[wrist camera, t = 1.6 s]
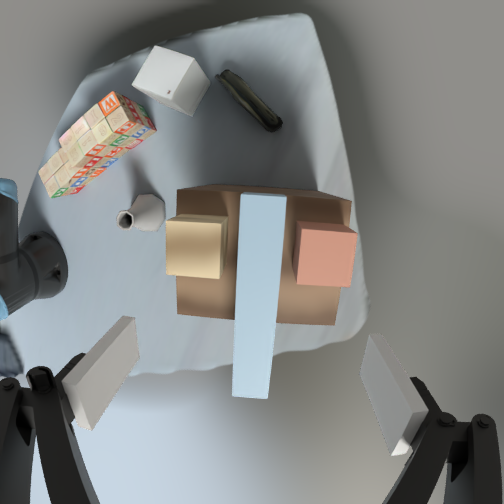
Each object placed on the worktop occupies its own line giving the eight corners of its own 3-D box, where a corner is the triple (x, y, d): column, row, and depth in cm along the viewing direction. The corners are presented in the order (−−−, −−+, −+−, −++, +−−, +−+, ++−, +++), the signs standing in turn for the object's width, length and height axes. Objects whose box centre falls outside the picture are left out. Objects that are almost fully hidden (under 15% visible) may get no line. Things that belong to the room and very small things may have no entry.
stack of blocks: (77, 194, 54) (39, 200, 42) (65, 169, 53) (26, 171, 41) (157, 130, 50) (129, 120, 38) (143, 104, 49) (112, 89, 37)
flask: (136, 188, 53) (110, 191, 43) (171, 199, 53) (150, 204, 43) (127, 225, 55) (101, 235, 45) (161, 237, 55) (140, 249, 45)
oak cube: (226, 263, 32) (219, 279, 27) (180, 260, 32) (166, 274, 28) (228, 216, 31) (221, 223, 26) (181, 213, 31) (165, 220, 26)
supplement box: (212, 82, 48) (196, 57, 35) (192, 117, 49) (170, 101, 37) (178, 69, 47) (154, 43, 35) (158, 103, 49) (129, 85, 37)
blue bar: (267, 378, 36) (267, 398, 32) (235, 375, 36) (232, 396, 32) (284, 194, 30) (286, 197, 26) (244, 192, 30) (240, 194, 26)
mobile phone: (286, 120, 44) (221, 59, 42) (272, 132, 45) (207, 71, 43) (284, 124, 49) (224, 68, 47) (271, 136, 50) (212, 79, 47)
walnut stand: (310, 269, 55) (334, 325, 33) (211, 262, 55) (177, 314, 34) (318, 191, 51) (351, 201, 30) (213, 184, 52) (177, 189, 31)
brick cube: (338, 270, 32) (349, 287, 27) (292, 268, 32) (296, 284, 27) (344, 224, 31) (357, 233, 26) (296, 220, 31) (301, 228, 26)
